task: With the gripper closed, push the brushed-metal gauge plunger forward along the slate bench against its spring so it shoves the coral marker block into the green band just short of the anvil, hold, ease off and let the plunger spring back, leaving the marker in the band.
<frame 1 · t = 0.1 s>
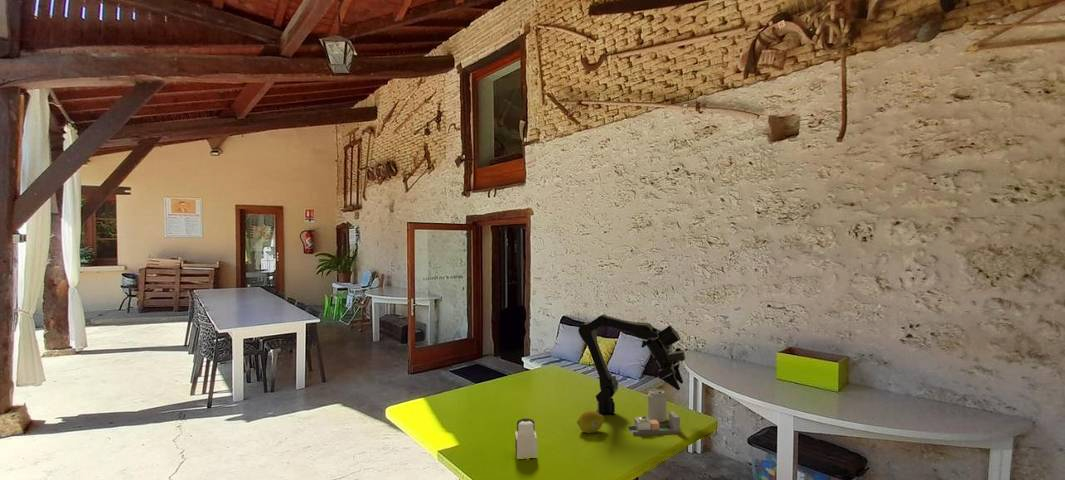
hand: (680, 386, 190), 15 cm above the table, tool tilted 35°, fingers open, 9 cm apart
gauge bench: (654, 431, 183), on the table
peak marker: (654, 430, 183), resting on gauge bench
medicine bottle: (526, 455, 164), on the table
can: (657, 420, 194), on the table
lemon: (591, 432, 183), on the table
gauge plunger: (642, 424, 182), point 3 cm above the table, slide at 0.0 cm
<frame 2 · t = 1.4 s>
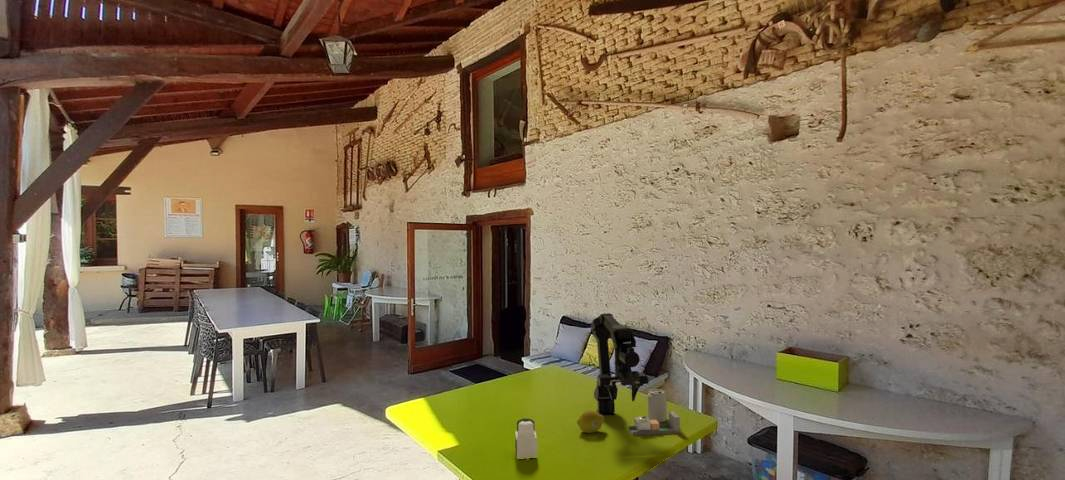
hand: (623, 401, 182), 12 cm above the table, tool pointing down, fingers open, 7 cm apart
nothing on the table moved.
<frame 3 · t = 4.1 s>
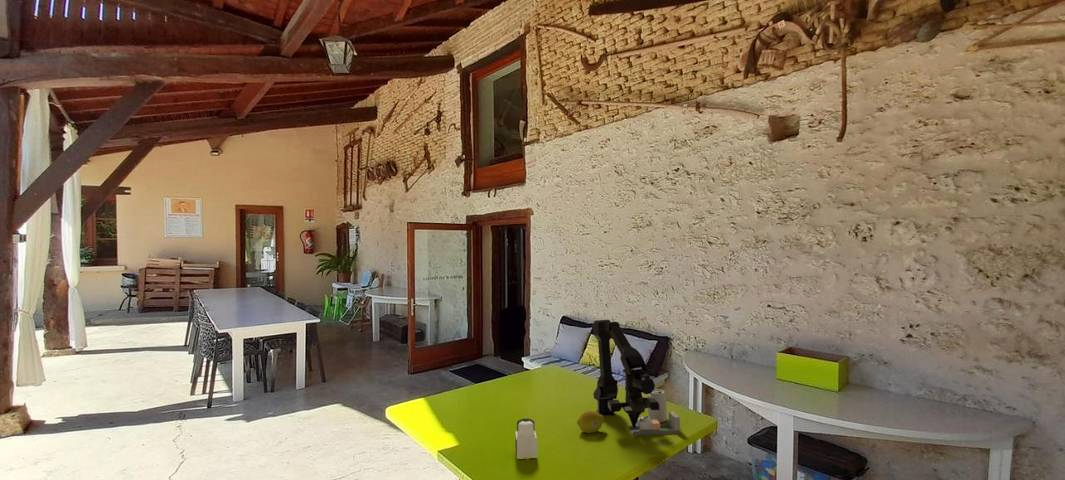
hand: (633, 427, 182), 2 cm above the table, tool pointing down, fingers closed
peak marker: (654, 430, 183), resting on gauge bench
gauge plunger: (644, 424, 182), point 3 cm above the table, slide at 0.8 cm, touching gripper
everything else where it was.
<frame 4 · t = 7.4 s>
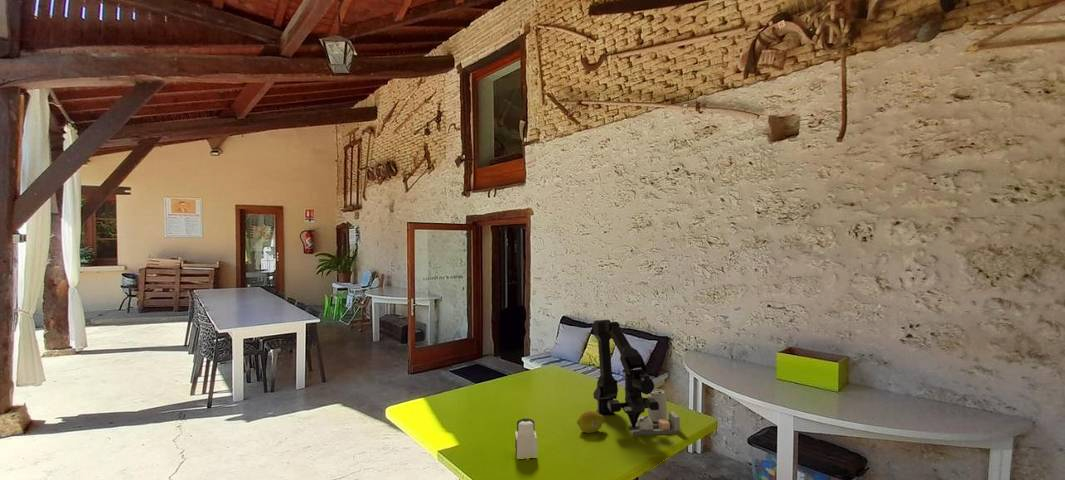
hand: (633, 427, 182), 2 cm above the table, tool pointing down, fingers closed
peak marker: (664, 430, 183), resting on gauge bench
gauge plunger: (644, 424, 182), point 3 cm above the table, slide at 0.8 cm
everything else where it was.
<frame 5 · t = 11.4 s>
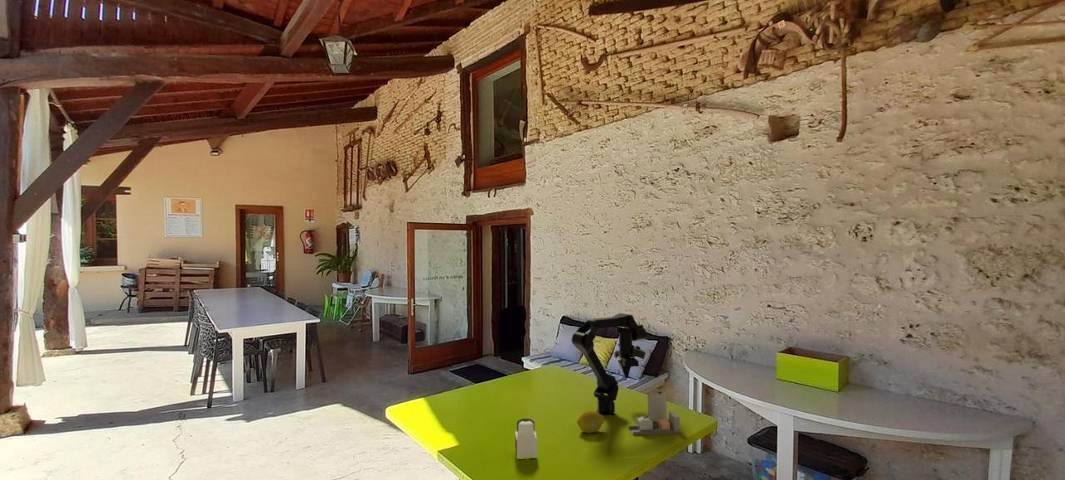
hand: (626, 377, 210), 13 cm above the table, tool pointing down, fingers closed
nothing on the table moved.
at the end: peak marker 0.8 cm from the target spot, resting on gauge bench; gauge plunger slide at 0.8 cm; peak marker tilted 0° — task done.
